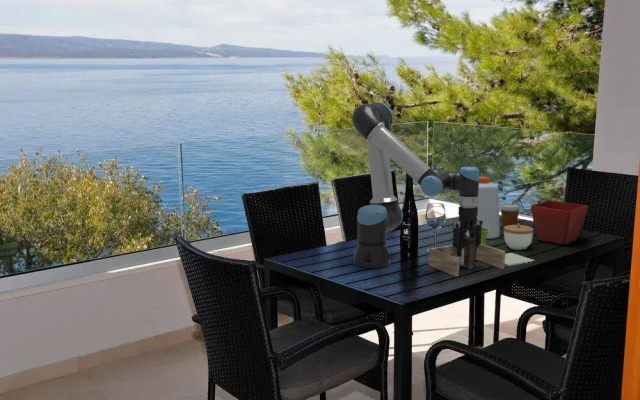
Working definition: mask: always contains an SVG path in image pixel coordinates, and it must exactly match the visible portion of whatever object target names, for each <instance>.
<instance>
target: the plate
mask: <svg viewBox="0 0 640 400" xmlns="http://www.w3.org/2000/svg"><path fill="white" fill-rule="evenodd" d="M532 261H535V259H532V258H529V257H525V256H523V255H520V254H516V253H513V252H507V253H505V266H508V267H512V266H517V265H518V266H519V265H522V264H523V263H524V264H529V263H528V262H530V263H533V262H532ZM535 262H536V261H535Z"/></svg>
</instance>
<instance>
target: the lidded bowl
mask: <svg viewBox="0 0 640 400" xmlns="http://www.w3.org/2000/svg"><path fill="white" fill-rule="evenodd" d="M534 230H535V228H533V227H531V226H529V225H522V224H521V223H518V222H517V225H508V226H505V227H504V230H503V237H504V242H505V243H506V245H507V246H508V247H509V249H510V250H516V251H522V249H524V250H526V249H527V248H528V247H529V246H530V245H531V243H532V241H533V236H534Z"/></svg>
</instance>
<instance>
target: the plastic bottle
mask: <svg viewBox="0 0 640 400" xmlns="http://www.w3.org/2000/svg"><path fill="white" fill-rule="evenodd" d="M490 180H491V179H490V177H489V176H479V192H478V206H476V207H478V216H477V220H481V221H483V223H482V227H483V228H487V229H489V231H488V234H487V237H486V240H491V239H492V240H493V239H498V238H499V237H500V235H501V233H500V232H501V229H500V227H501V226H500V204H499V203H500V200H499V199H500V198H499V185H498V184H496V183H493V182H491V181H490ZM475 225H476V224H475ZM463 230H464V229H463ZM465 236H466V237H469V232H468V230H467V233H466V235H465Z"/></svg>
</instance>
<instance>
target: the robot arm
mask: <svg viewBox="0 0 640 400" xmlns="http://www.w3.org/2000/svg"><path fill="white" fill-rule="evenodd" d="M393 122H394V113H393V111H392V109H391V108H390V107H389V106H388V105H387V104H385V103H382V102H370V103H363V104H360V105H358V106H357V107H356V108H355V109H354V111H353V112H352V116H351V123H352V125H353V127H354V130H356V131H357V133H359V135H361V137H363V139H364V140H366V142H367V144H366V145H367V151H368V161H369V162H368V163H369V171H370V180H371V181H370V182H371V191H372V192H371V193H372V198H371V200H370V201H369V205H364V206H361V207H360V208H359V209H358V211H357V216H356V220H357V239H356V240H357V245H356V247H355V251H354V255H353V257H352V265H354V266H355V267H359V268H365V269H380V268H387V267H389V266H390V265H391V257H390V254H389V250H388V247H387V234H388V233H390V232H392V231H394V230H397V228H398V227H400V225H401V223H402V222H403V218H404V213H403V210H402V207H400V205H399V202H398V198H397V197H396V196H395V195H394V189H393V188H394V187H393V176H392V169H391V168H392V167H391V160H392V161H393V162H394V163H395V164H396V165H398V167H399V168H401V169H402V170H403V171H404V172H405V173H406V174H407V175H408V176H409V177H410V178H412V179H413V180H414V181H415V182H416V183H417V184H418V185H419V186H420V189H421V191H422V193H423V194H424V195H426V196H428V197H430V196H436V195H439V194H441V193H442V192H443V193H444V192H445V191H458V194H459V195H458V206H459V207H458V214H457V215H458V221H457V222H452V227H453V233H452V245H453V247H456V248H457V256H458V258H459V264H460V265H464V249H463V244H464V239H465V236H467V235H466V233H467V230H469V235H470V237H471V238H476V248H477V247H478V246H479V245H480V244H481V227H482V223H483V221H481V220H477V216H478V207H476V206H478V192H479V177H480V169H479V168H478V167H475V166H474V167H473V166H463V167H460V168H459V171H449V170H442V169H441V170H440V169H438V170H433V169H432V168H431V167H430V166H428V164H426V162H424V161H423V160H422V159H421V158H420V157H419V156H418V155H416V154H415V152H413V151H412V149H410V148H409V147H408V146H406V144H404V143H403V142H402V141H401V139H399V138H397V136H395V135H394V134H393V133H392V131H391V126H392V124H393ZM475 224H476V225H475ZM463 229H464V230H463Z"/></svg>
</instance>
